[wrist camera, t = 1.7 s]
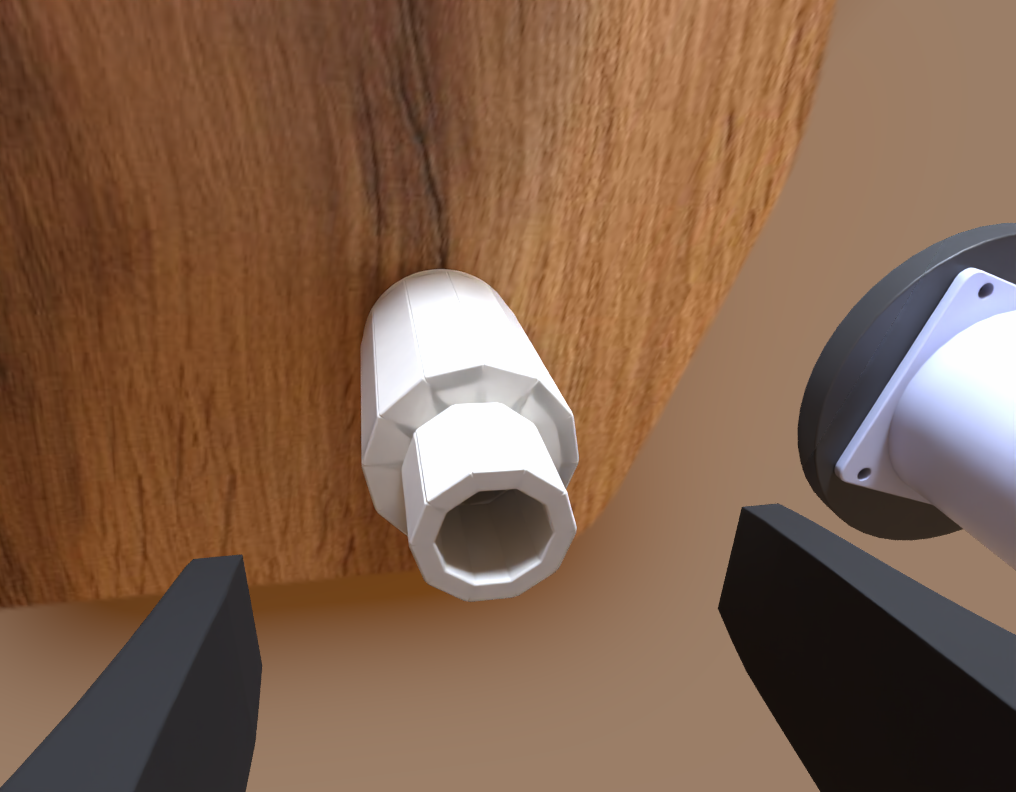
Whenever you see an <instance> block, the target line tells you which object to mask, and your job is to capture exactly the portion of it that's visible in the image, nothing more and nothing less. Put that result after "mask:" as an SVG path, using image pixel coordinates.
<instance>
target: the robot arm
mask: <svg viewBox="0 0 1016 792" xmlns="http://www.w3.org/2000/svg"><path fill="white" fill-rule="evenodd" d="M982 286H983V288H982V290H981V291H980V292H979V290H980V288H981V287H982ZM978 292H979V293H978ZM862 469H863V470H862ZM861 470H862V471H861ZM860 471H861V472H860ZM859 472H860V473H859ZM835 474H836V476H837V477H839V478H840V479H841V480H842V481H844V482H846V483H850V484H854V485H858V486H862V487H866V488H870V489H874V490H877V491H881V492H885V493H889V494H893V495H897V496H901V497H905V498H909V499H912V500H916V501H920V502H924V503H928V504H932V505H934V506H935V507H936V508H937V509H939V510H940V511H941V512H943V513H944V514H945V515H946V516H948V517H949V518H950V519H951V520H953V521H954V522H955V523H956V524H958V525H959V526H960V527H961V528H963V529H964V530H965V531H967V532H968V533H969V534H970V535H972V536H973V537H974V538H975V539H977V540H978V541H979V542H981V543H982V544H983V545H984V546H986V547H987V548H988V549H989V550H991V551H992V552H993V553H994V554H996V555H997V556H998V557H1000V558H1001V559H1002V560H1003V561H1005V562H1006V563H1007V564H1008V565H1009V566H1011V567H1012V568H1013V569H1015V570H1016V285H1015V284H1012V283H1010V282H1008V281H1005V280H1003V279H1001V278H998V277H996V276H994V275H991V274H989V273H987V272H984V271H982V270H979V269H976V268H968V269H965V270H963V271H962V272H960V273H959V274H958V275H957V277H956V278H955V279H954V281H953V282H952V284H951V285H950V287H949V288H948V290H947V292H946V293H945V295H944V296H943V298H942V299H941V301H940V303H939V304H938V306H937V307H936V309H935V310H934V312H933V313H932V315H931V317H930V318H929V320H928V321H927V323H926V324H925V326H924V327H923V329H922V331H921V332H920V334H919V335H918V337H917V338H916V340H915V342H914V343H913V345H912V346H911V348H910V349H909V351H908V352H907V354H906V356H905V357H904V359H903V360H902V362H901V363H900V365H899V366H898V368H897V370H896V371H895V373H894V374H893V376H892V377H891V379H890V381H889V382H888V384H887V385H886V387H885V388H884V390H883V391H882V393H881V395H880V396H879V398H878V399H877V401H876V402H875V404H874V405H873V407H872V409H871V410H870V412H869V413H868V415H867V416H866V418H865V420H864V421H863V423H862V424H861V426H860V427H859V429H858V430H857V432H856V434H855V435H854V437H853V438H852V440H851V441H850V443H849V444H848V446H847V448H846V449H845V451H844V452H843V454H842V455H841V457H840V459H839V460H838V462H837V463H836V466H835ZM718 610H719V612H720V614H721V617H722V619H723V621H724V624H725V626H726V628H727V631H728V633H729V635H730V638H731V640H732V642H733V644H734V646H735V649H736V651H737V653H738V655H739V657H740V659H741V661H742V663H743V665H744V667H745V669H746V671H747V673H748V675H749V676H750V678H751V680H752V681H753V683H754V685H755V687H756V688H757V690H758V691H759V693H760V695H761V696H762V698H763V700H764V701H765V703H766V705H767V706H768V708H769V709H770V711H771V713H772V715H773V716H774V717H775V719H776V721H777V723H778V724H779V726H780V727H781V729H782V731H783V732H784V734H785V736H786V737H787V739H788V740H789V742H790V744H791V745H792V747H793V748H794V750H795V751H796V753H797V755H798V756H799V758H800V760H801V761H802V763H803V764H804V766H805V768H806V769H807V771H808V773H809V774H810V776H811V777H812V779H813V781H814V782H815V783H816V785H817V787H818V789H819V790H820V792H1016V635H1015V634H1013V633H1011V632H1009V631H1007V630H1005V629H1003V628H1001V627H999V626H997V625H996V624H994V623H992V622H990V621H988V620H986V619H984V618H982V617H980V616H978V615H976V614H975V613H973V612H971V611H969V610H967V609H965V608H963V607H961V606H960V605H958V604H956V603H954V602H952V601H951V600H949V599H947V598H945V597H943V596H941V595H939V594H938V593H936V592H934V591H932V590H931V589H929V588H927V587H925V586H924V585H922V584H920V583H918V582H917V581H915V580H913V579H911V578H910V577H908V576H906V575H904V574H903V573H901V572H899V571H897V570H896V569H894V568H892V567H891V566H888V565H887V564H885V563H883V562H882V561H880V560H878V559H876V558H875V557H873V556H872V555H870V554H868V553H866V552H865V551H863V550H861V549H860V548H858V547H856V546H854V545H853V544H851V543H849V542H848V541H846V540H844V539H842V538H841V537H839V536H837V535H835V534H834V533H832V532H830V531H829V530H827V529H825V528H823V527H822V526H820V525H818V524H816V523H815V522H813V521H811V520H809V519H807V518H806V517H804V516H802V515H800V514H798V513H796V512H794V511H792V510H790V509H788V508H786V507H784V506H782V505H780V504H769V505H759V506H747V507H742V509H741V513H740V517H739V522H738V526H737V530H736V534H735V538H734V543H733V547H732V551H731V555H730V560H729V564H728V568H727V572H726V576H725V581H724V585H723V589H722V593H721V597H720V602H719V607H718ZM261 673H262V662H261V656H260V651H259V645H258V640H257V634H256V628H255V623H254V618H253V612H252V607H251V600H250V595H249V589H248V584H247V578H246V572H245V567H244V561H243V556H242V555H232V556H221V557H211V558H200V559H193V560H192V561H191V562H190V563H189V564H188V565H187V566H186V567H185V568H184V569H183V571H182V572H181V573H180V575H179V576H178V577H177V579H176V580H175V581H174V582H173V584H172V585H171V586H170V588H169V589H168V590H167V592H166V593H165V594H164V596H163V597H162V598H161V600H160V601H159V602H158V604H157V605H156V606H155V608H154V609H153V610H152V611H151V613H150V614H149V615H148V616H147V618H146V619H145V620H144V622H143V623H142V624H141V625H140V627H139V628H138V629H137V631H136V632H135V633H134V634H133V636H132V637H131V638H130V639H129V641H128V642H127V643H126V645H125V646H124V647H123V648H122V649H121V651H120V652H119V653H118V654H117V655H116V657H115V658H114V659H113V660H112V661H111V663H110V664H109V665H108V667H107V668H106V669H105V670H104V671H103V672H102V674H101V675H100V676H99V677H98V678H97V680H96V681H95V682H94V683H93V684H92V686H91V687H90V688H89V689H88V690H87V692H86V693H85V694H84V695H83V696H82V698H81V699H80V700H79V701H78V702H77V704H76V705H75V706H74V707H73V708H72V709H71V710H70V712H69V713H68V714H67V715H66V716H65V717H64V718H63V719H62V721H61V722H60V723H59V724H58V725H57V726H56V727H55V728H54V729H53V730H52V732H51V733H50V734H49V735H48V736H47V737H46V738H45V740H43V742H42V743H41V744H40V745H39V746H38V747H37V748H36V749H35V750H34V752H33V753H32V754H31V755H30V756H29V757H28V758H27V759H26V760H25V762H24V763H23V764H22V765H21V766H20V767H19V768H18V769H17V770H16V772H15V773H14V774H13V775H12V776H11V777H10V778H9V779H8V780H7V781H6V782H5V783H4V784H3V786H1V788H0V792H245V791H246V787H247V782H248V776H249V772H250V767H251V762H252V757H253V751H254V746H255V740H256V730H257V720H258V709H259V698H260V685H261Z"/></svg>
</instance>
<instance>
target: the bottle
mask: <svg viewBox="0 0 1016 792" xmlns="http://www.w3.org/2000/svg"><path fill="white" fill-rule="evenodd" d="M361 458H362V470H363V473H364V476H365V479H366V482H367V486H368V489H369V492H370V495H371V498H372V501H373V505H374V508H375V510H376V511H377V513H378V514H380V515H381V516H382V517H383V518H385V519H386V520H387V521H389V522H390V523H391V524H392V525H394V526H395V527H396V528H398V529H399V530H400V531H401V532H403V533H404V534H405V535H406V536H408V541H409V547H410V550H411V552H412V554H413V556H414V559H415V561H416V563H417V565H418V568H419V570H420V572H421V574H422V577H423V579H424V581H425V582H427V583H428V584H429V585H431V586H433V587H435V588H437V589H440V590H442V591H444V592H447V593H448V594H450V595H453V596H455V597H457V598H459V599H461V600H464V601H469V602H473V601H483V600H493V599H503V598H512V597H515V596H519V595H520V594H522V593H523V592H525V591H526V590H528V589H530V588H531V587H533V586H534V585H536V584H538V583H539V582H541V581H542V580H544V579H545V578H547V577H548V576H550V575H551V574H553V573H554V572H556V570H558V569H559V567H560V565H561V563H562V560H563V559H564V557H565V554H566V553H567V551H568V549H569V546H570V544H571V542H572V540H573V538H574V536H575V534H576V529H577V527H576V523H575V519H574V516H573V512H572V509H571V505H570V501H569V498H568V494H567V491H566V488H567V486H568V484H569V482H570V480H571V478H572V476H573V473H574V471H575V469H576V467H577V465H578V461H579V455H578V447H577V439H576V431H575V423H574V416H573V414H572V412H571V410H570V408H569V407H568V405H567V403H566V402H565V400H564V398H563V396H562V395H561V393H560V391H559V390H558V388H557V386H556V385H555V383H554V381H553V380H552V378H551V376H550V374H549V373H548V371H547V369H546V368H545V366H544V364H543V363H542V361H541V359H540V357H539V356H538V354H537V352H536V351H535V349H534V347H533V346H532V344H531V342H530V341H529V339H528V337H527V335H526V334H525V332H524V330H523V329H522V327H521V325H520V324H519V322H518V320H517V319H516V317H515V315H514V313H513V312H512V311H511V309H510V308H509V307H508V306H507V305H506V304H505V302H504V301H503V300H502V298H501V297H500V296H499V294H498V293H497V292H496V291H495V290H494V289H493V288H492V287H491V286H489V285H488V284H487V283H485V282H484V281H482V280H480V279H479V278H477V277H475V276H473V275H470V274H468V273H465V272H461V271H457V270H449V269H433V270H426V271H421V272H418V273H414V274H412V275H410V276H407V277H405V278H403V279H401V280H400V281H398V282H396V283H395V284H393V285H392V286H391V287H390V288H388V289H387V290H386V291H385V292H384V293H383V294H382V295H381V296H380V297H379V299H378V300H377V301H376V303H375V304H374V306H373V307H372V309H371V311H370V313H369V315H368V318H367V320H366V323H365V328H364V333H363V339H362V342H361Z"/></svg>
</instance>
